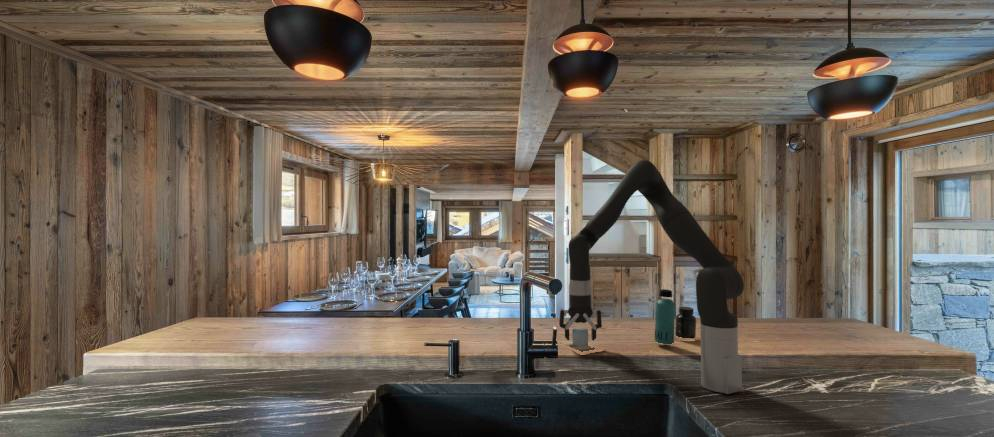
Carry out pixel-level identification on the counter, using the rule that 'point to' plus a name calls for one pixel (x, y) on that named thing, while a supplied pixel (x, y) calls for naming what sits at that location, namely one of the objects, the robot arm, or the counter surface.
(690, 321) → the supplement bottle
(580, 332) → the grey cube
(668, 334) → the beverage bottle
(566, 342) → the board
